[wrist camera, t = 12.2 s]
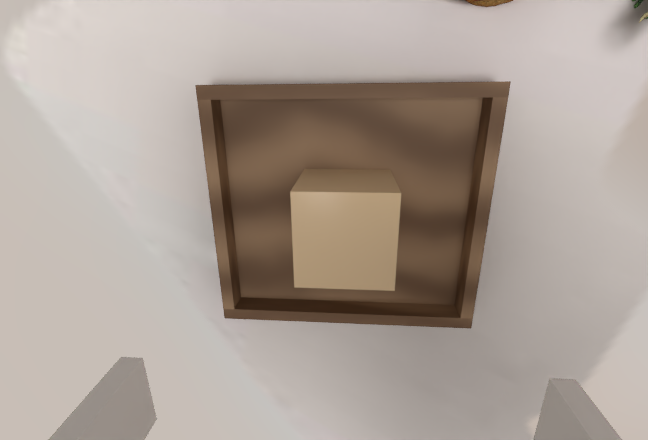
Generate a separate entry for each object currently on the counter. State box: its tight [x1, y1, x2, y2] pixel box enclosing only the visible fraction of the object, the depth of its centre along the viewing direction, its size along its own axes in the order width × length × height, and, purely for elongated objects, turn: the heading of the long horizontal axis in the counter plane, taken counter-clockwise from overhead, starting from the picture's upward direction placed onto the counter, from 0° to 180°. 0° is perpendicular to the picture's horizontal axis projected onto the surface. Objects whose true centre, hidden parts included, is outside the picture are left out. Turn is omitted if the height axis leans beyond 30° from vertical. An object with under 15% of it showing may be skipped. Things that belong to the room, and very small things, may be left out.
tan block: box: [290, 169, 401, 291], centre depth 27 cm, size 7×7×7 cm
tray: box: [196, 82, 510, 328], centre depth 30 cm, size 20×22×3 cm
